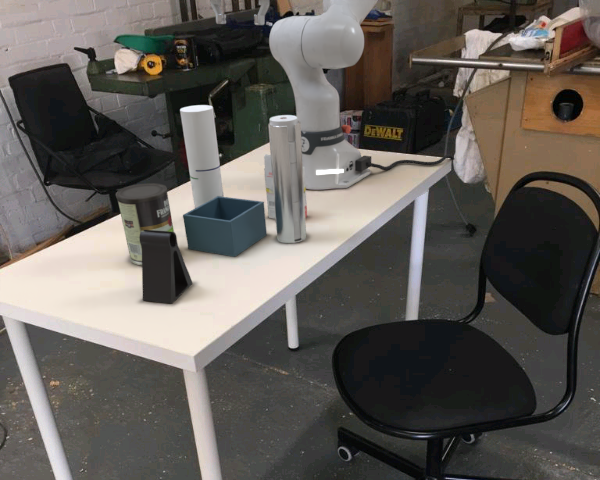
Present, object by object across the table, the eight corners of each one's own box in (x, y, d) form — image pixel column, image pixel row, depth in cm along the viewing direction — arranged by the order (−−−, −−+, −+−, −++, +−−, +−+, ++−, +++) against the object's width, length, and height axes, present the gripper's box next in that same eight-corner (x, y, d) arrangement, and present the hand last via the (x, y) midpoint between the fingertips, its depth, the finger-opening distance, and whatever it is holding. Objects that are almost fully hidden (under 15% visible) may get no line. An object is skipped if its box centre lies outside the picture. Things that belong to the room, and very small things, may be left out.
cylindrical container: (221, 225, 151) (206, 111, 136) (192, 225, 152) (175, 112, 138) (230, 215, 156) (216, 104, 142) (202, 214, 158) (186, 105, 143)
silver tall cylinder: (275, 244, 140) (266, 121, 125) (278, 233, 145) (269, 114, 130) (305, 243, 139) (299, 120, 125) (306, 232, 144) (300, 113, 130)
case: (222, 228, 149) (217, 195, 145) (266, 235, 144) (263, 201, 140) (188, 249, 140) (182, 214, 136) (234, 256, 135) (230, 221, 131)
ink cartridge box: (308, 216, 152) (305, 152, 144) (296, 223, 149) (292, 158, 141) (279, 211, 157) (274, 149, 148) (267, 217, 154) (261, 154, 145)
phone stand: (165, 281, 127) (154, 221, 120) (192, 283, 125) (182, 223, 118) (142, 301, 120) (129, 239, 113) (171, 304, 118) (159, 242, 111)
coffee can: (184, 247, 141) (173, 182, 133) (169, 266, 133) (156, 198, 125) (140, 246, 143) (126, 182, 135) (122, 265, 134) (107, 198, 126)
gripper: (291, -56, 127) (290, 25, 134) (204, -54, 134) (208, 23, 141) (276, -59, 122) (276, 25, 129) (187, -57, 129) (191, 23, 136)
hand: (240, 24), depth 135 cm, fingers open, 8 cm apart
